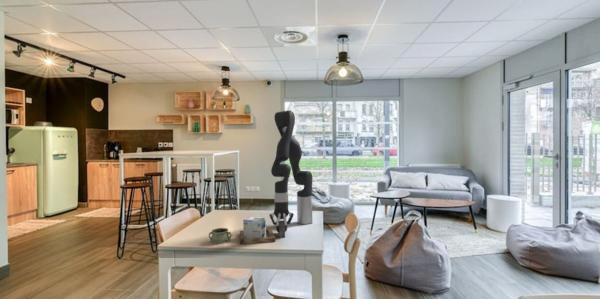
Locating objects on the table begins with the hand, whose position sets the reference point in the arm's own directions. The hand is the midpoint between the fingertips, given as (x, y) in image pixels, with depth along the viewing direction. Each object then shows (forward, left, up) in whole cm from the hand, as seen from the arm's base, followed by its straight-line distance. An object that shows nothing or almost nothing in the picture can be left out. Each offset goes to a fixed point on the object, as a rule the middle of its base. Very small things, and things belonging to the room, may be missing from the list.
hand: (281, 231), depth 172 cm
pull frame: (+10, 0, -2) cm, 11 cm away
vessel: (+32, +2, -3) cm, 33 cm away
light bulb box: (+14, -1, -3) cm, 15 cm away
